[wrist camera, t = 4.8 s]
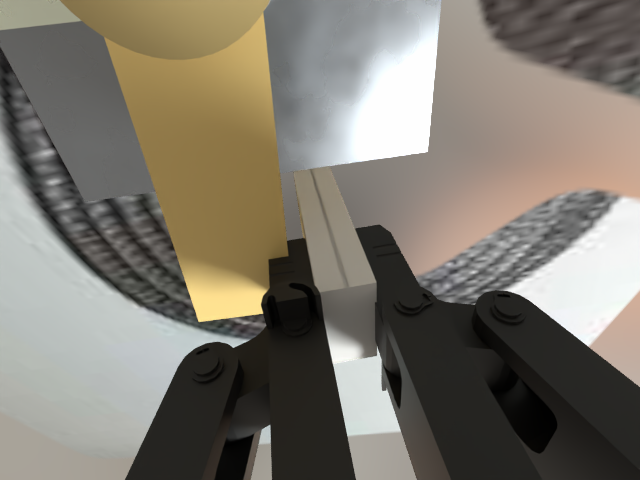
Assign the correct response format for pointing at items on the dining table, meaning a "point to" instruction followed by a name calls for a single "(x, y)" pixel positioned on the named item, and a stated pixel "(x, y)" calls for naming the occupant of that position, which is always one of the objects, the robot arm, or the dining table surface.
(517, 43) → the dining table surface
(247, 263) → the bar
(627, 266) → the dining table surface
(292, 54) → the base
